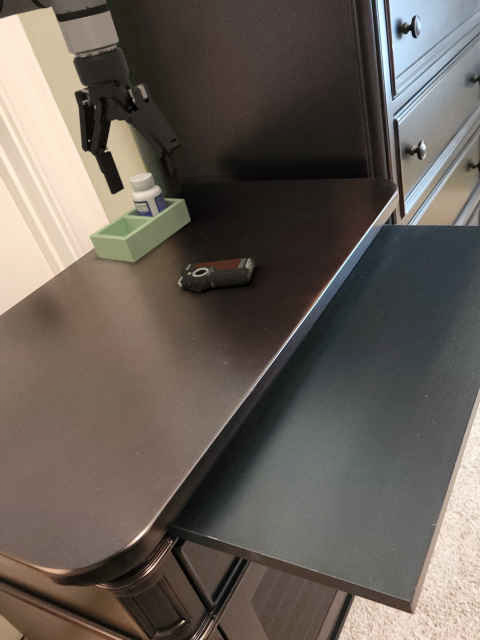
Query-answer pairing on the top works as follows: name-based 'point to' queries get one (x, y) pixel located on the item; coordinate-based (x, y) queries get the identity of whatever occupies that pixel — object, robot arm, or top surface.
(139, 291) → the top surface
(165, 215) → the divided box
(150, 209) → the pill bottle
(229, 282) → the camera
